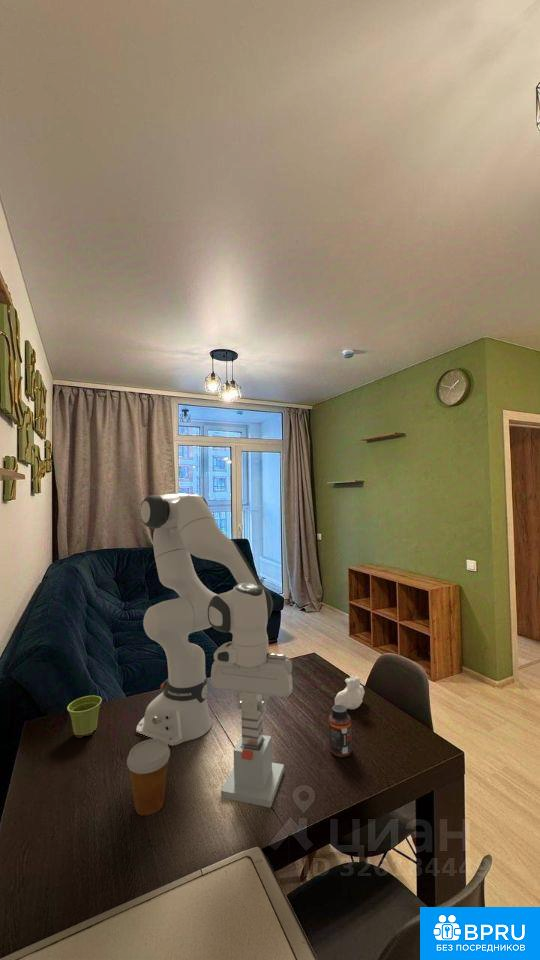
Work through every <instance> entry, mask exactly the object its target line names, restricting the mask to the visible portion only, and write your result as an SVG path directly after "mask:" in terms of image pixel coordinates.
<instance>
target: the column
mask: <svg viewBox="0 0 540 960" xmlns="http://www.w3.org/2000/svg"><path fill="white" fill-rule="evenodd" d="M240 695H241V709H240V710H241V711H240V713H241V737H242V748H244V749H250V750H256V751H259V750H260V748H261V746H262V744H263V735H264V720H263V713H264V712H259V703H260V702H261V701H263V694H257V693H252V692H243V691H241V692H240Z"/></svg>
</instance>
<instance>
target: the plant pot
mask: <svg viewBox="0 0 540 960" xmlns="http://www.w3.org/2000/svg"><path fill="white" fill-rule="evenodd" d="M102 700H103V699H102V697H101V696H98V695H86V696H82V697H79V698H76V699H75V700H73V701H71V702H70V703H69V704H68V705H67V707H66V709H67V712H68V713H69V716H70V719H71V725H72V732H74V733H73V735H74V734H75V735H86V734H89V733H92V732H93V731H94V730H96V731H97V729H96V728H97V727H98V718H99V711H100V707H101V703H102Z"/></svg>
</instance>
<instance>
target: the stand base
mask: <svg viewBox="0 0 540 960" xmlns="http://www.w3.org/2000/svg"><path fill="white" fill-rule="evenodd" d="M272 750H273V749H272V736H270V735H264V734H263V744H262V746H261V748H260V750H259V751H256V750H250V749H244V748H242V736H241V737H240V738H239V740H238V741H237V744H236V745H235V747H234V749H233V768H232V770H231V772H230V774H229V775H228V777H227V779H226V781H225V782H224V783H223V786H222V787H221V788H222V789H221V790H220V798H223V799H228V800H232V801H236V802H242V803H245V804H250V805H255V806H256V805H257V806H262V807H265V808H272V806H273V803H274V799H275V797H276V794H277V792H278V789H279V785H280V783H281V780H282V778H283V776H284V771H285V764H284V763H283V764H282V763H277V762H273V754H272V753H273V751H272Z"/></svg>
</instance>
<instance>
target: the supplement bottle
mask: <svg viewBox="0 0 540 960" xmlns="http://www.w3.org/2000/svg"><path fill="white" fill-rule="evenodd" d="M328 735H329V737H328V738H329V750H330V752H331V754H332V755H334V756H336V757H339V758H346V757H348V756H350V755H351V753H352V750H353V745H352V720H351V716H350V715H349V714H348V709H347V708H346V707H345V706H343V705H335V704H334V705H333V706H332V707H331V714H329V716H328Z"/></svg>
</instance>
